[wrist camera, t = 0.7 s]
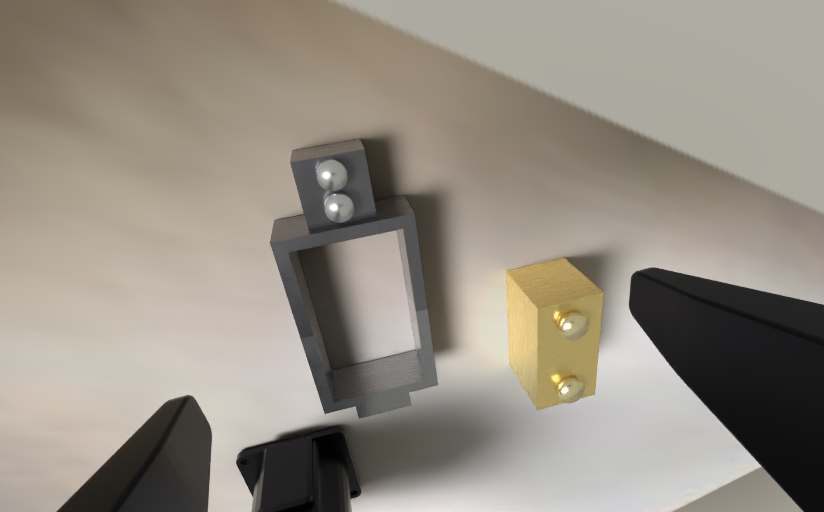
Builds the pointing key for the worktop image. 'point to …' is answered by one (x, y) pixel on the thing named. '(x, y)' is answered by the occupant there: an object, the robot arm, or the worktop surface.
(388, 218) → the open rectangular frame
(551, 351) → the gold block with knobs
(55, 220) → the worktop surface
